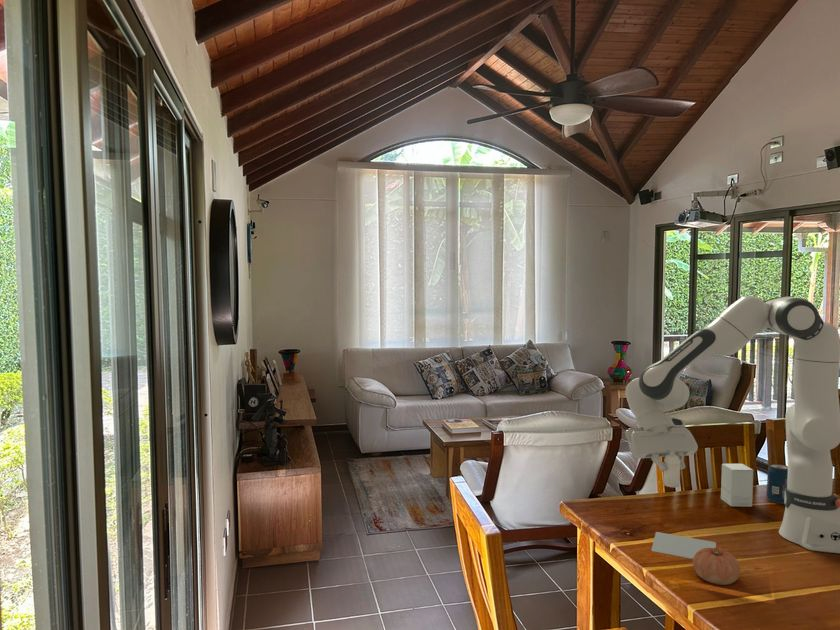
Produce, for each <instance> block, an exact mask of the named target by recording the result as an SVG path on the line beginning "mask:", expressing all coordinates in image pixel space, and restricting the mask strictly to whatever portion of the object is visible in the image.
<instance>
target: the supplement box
mask: <svg viewBox="0 0 840 630" xmlns="http://www.w3.org/2000/svg"><path fill="white" fill-rule="evenodd" d="M720 486H721V487H720V499H721V500H722V501H723V502H724V503H726V504H727V505H729V506H730V507H743V508H744V507H753V495H754V493H753V491H754V490H753V489H754V469H752V468H751V467H749V466H747V465H746V464H744V463H722V464H721V485H720Z"/></svg>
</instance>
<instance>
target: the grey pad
mask: <svg viewBox="0 0 840 630" xmlns="http://www.w3.org/2000/svg"><path fill="white" fill-rule="evenodd" d="M703 548H717V543H716V542H715V541H710V540H705V539H701V538H700V539H699V538H693V537H687V536H681V535H676V534H671V533H664V532H659V531H655V533H654V539H653V542H652V546H651V551H650V552H655V553H660V554H665V555H670V556H675V557H676V556H677V557H680V558H686V559H690V560H693V558H694V556H695V554H696V553H697V552H698V551H700V550H701V549H703Z"/></svg>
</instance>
